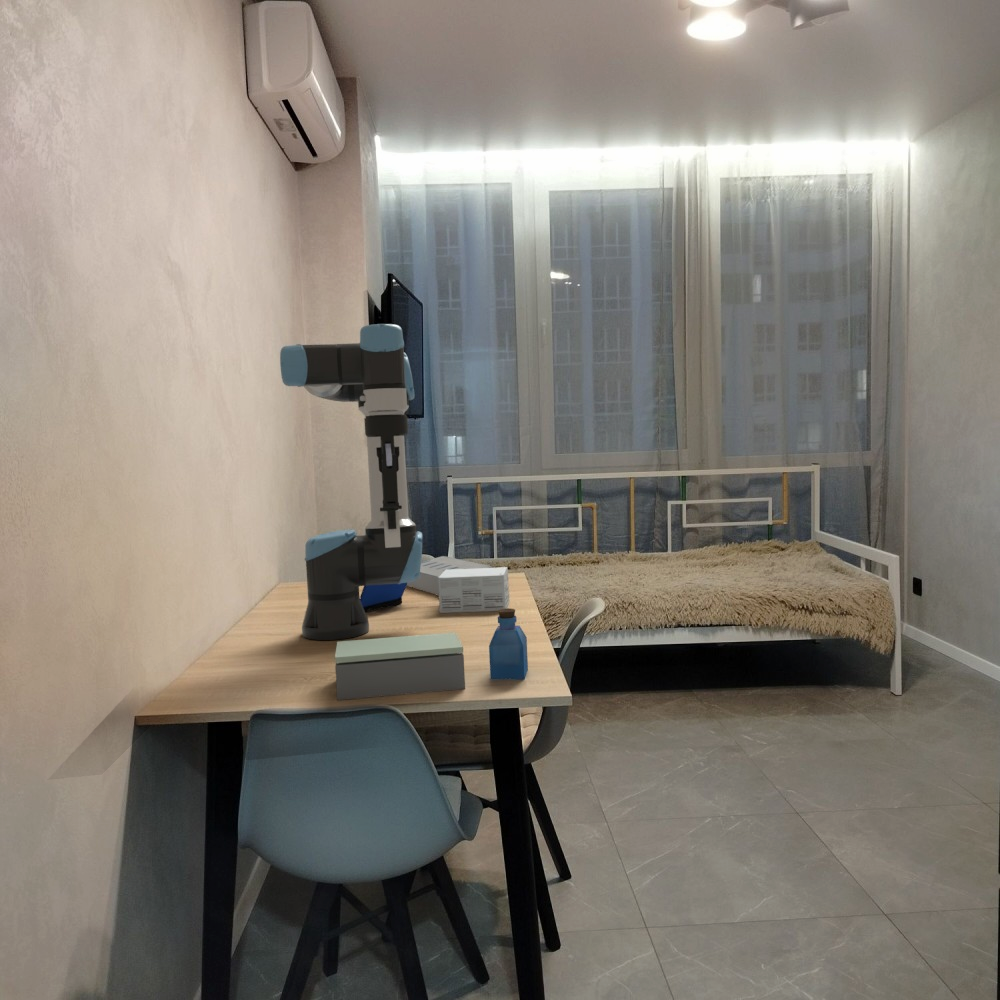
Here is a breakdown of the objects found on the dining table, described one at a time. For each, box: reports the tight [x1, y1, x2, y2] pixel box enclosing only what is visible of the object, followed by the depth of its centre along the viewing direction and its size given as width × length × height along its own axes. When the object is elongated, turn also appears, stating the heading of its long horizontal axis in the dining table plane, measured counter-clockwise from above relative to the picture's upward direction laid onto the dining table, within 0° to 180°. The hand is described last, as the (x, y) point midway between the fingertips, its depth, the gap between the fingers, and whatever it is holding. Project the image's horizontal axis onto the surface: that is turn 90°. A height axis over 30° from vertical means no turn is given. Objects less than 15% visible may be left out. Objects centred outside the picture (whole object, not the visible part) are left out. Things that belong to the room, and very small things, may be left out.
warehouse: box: [406, 555, 494, 596], centre depth 251 cm, size 30×14×8 cm, turn 32°
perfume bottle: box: [488, 607, 529, 680], centre depth 158 cm, size 6×6×12 cm
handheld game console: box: [359, 583, 407, 614], centre depth 226 cm, size 16×13×9 cm
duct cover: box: [334, 631, 464, 664], centre depth 155 cm, size 13×22×1 cm, turn 99°
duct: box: [334, 652, 466, 701], centre depth 155 cm, size 13×22×6 cm, turn 99°
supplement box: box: [438, 566, 510, 614], centre depth 222 cm, size 17×13×9 cm
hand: (392, 546), depth 154 cm, fingers closed
